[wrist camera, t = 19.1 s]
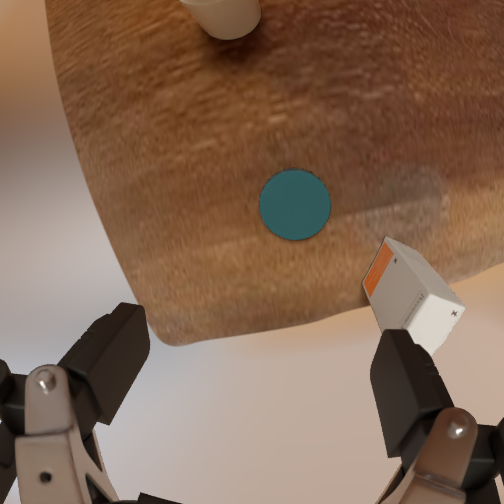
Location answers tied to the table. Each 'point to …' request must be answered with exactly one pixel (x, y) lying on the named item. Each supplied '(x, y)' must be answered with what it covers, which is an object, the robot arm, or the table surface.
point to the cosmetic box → (411, 295)
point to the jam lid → (294, 204)
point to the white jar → (225, 16)
